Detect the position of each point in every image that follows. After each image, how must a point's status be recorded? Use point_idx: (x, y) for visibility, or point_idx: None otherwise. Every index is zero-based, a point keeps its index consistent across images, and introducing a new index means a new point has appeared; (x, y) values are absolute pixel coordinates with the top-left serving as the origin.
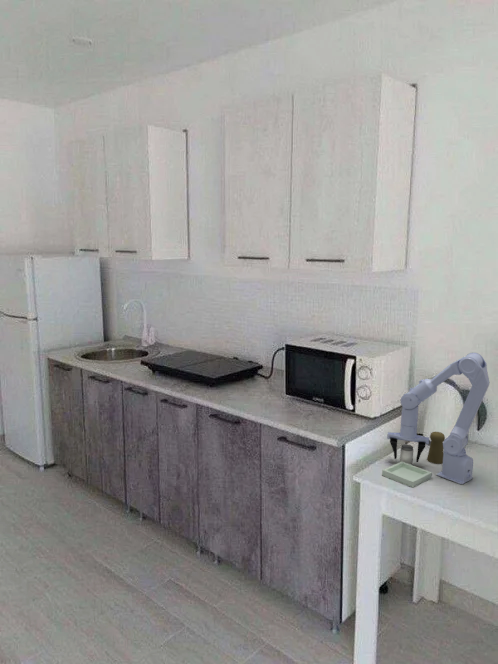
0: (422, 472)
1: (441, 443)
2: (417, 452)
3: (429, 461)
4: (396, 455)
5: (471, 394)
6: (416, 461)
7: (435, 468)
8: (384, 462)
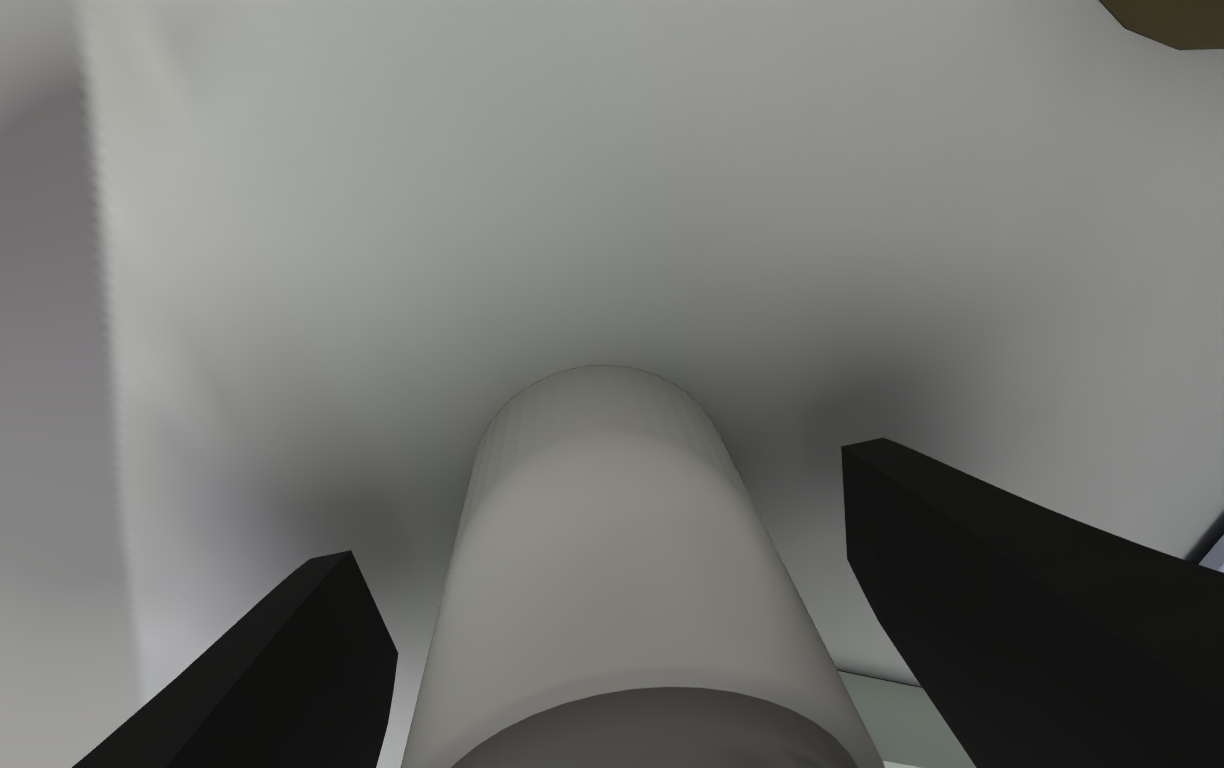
0: None
1: None
2: (991, 629)
3: (1114, 2)
4: (371, 739)
5: None
6: (858, 572)
7: (1183, 338)
8: (205, 617)
